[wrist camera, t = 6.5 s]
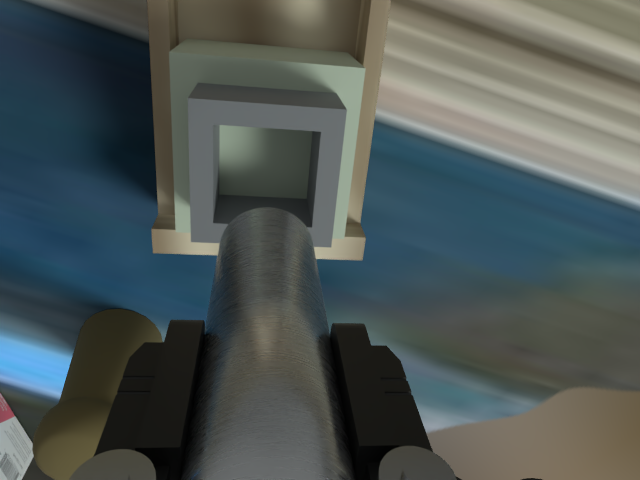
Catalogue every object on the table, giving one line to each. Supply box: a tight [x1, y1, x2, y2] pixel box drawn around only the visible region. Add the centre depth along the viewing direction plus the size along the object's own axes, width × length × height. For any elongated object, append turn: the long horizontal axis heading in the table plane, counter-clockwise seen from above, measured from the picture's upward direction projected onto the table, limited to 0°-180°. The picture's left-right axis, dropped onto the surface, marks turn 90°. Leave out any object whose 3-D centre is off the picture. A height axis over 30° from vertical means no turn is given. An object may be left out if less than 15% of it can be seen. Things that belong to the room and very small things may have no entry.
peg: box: [180, 207, 356, 480], centre depth 10 cm, size 3×3×14 cm
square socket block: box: [169, 38, 366, 248], centre depth 27 cm, size 9×9×10 cm
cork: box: [32, 309, 162, 480], centre depth 34 cm, size 6×6×11 cm
